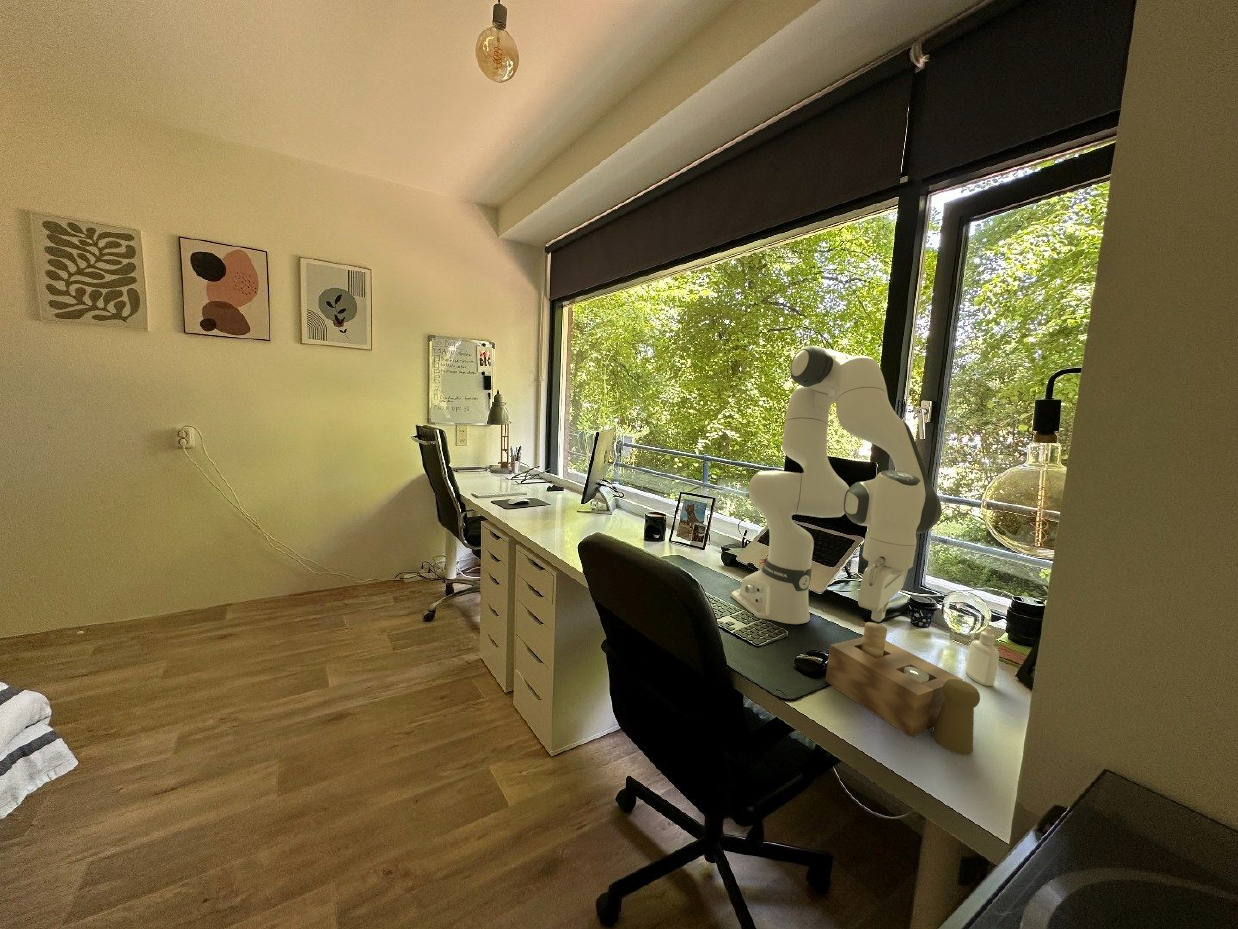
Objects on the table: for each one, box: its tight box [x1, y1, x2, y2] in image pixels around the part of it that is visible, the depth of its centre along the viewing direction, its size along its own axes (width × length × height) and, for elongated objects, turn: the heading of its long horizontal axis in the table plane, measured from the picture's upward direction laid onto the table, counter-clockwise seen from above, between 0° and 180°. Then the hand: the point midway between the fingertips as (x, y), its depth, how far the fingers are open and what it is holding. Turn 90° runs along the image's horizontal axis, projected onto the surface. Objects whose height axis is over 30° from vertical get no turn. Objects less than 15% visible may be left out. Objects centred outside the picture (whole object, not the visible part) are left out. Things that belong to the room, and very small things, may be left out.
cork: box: [931, 679, 981, 756], centre depth 83 cm, size 6×6×11 cm
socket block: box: [825, 636, 964, 738], centre depth 95 cm, size 18×14×8 cm
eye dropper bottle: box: [965, 626, 1000, 687], centre depth 105 cm, size 4×6×12 cm
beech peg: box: [861, 621, 888, 658], centre depth 98 cm, size 4×4×8 cm
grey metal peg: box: [904, 667, 929, 683], centre depth 91 cm, size 4×4×8 cm
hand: (877, 619), depth 97 cm, fingers closed
